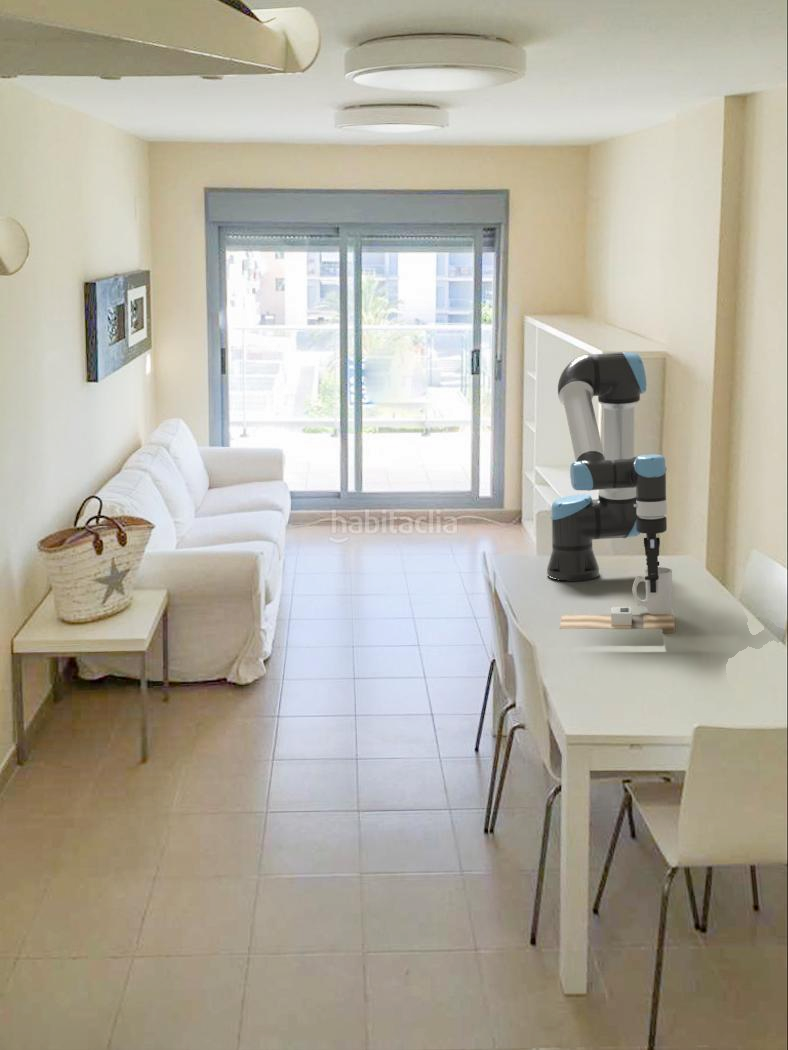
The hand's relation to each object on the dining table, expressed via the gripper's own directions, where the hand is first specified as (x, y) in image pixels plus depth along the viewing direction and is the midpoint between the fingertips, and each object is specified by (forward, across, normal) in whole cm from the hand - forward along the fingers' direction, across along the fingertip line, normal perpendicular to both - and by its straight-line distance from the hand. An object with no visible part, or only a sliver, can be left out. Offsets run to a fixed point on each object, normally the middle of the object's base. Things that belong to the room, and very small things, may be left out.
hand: (652, 597), depth 320 cm
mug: (+5, -1, 0) cm, 5 cm away
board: (+5, +9, -9) cm, 13 cm away
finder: (+4, +9, -8) cm, 12 cm away
